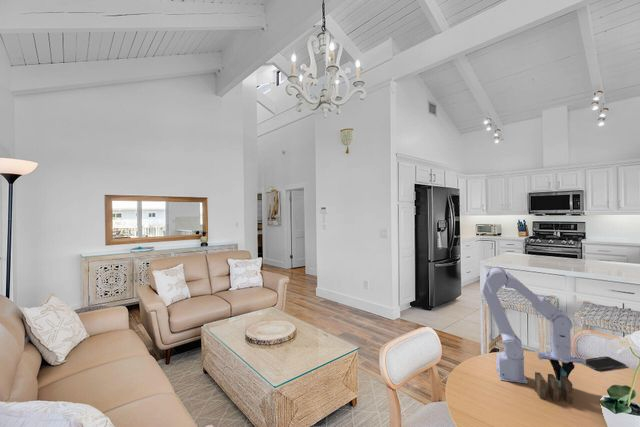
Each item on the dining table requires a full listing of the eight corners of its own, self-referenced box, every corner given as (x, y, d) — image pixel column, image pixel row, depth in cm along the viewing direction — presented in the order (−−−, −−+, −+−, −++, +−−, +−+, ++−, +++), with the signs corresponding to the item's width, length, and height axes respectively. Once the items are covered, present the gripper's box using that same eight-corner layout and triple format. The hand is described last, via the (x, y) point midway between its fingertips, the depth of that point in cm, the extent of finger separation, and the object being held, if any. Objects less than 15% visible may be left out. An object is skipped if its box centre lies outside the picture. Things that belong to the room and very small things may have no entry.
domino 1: (540, 398, 108) (539, 379, 108) (535, 390, 113) (534, 372, 113) (545, 399, 108) (545, 380, 107) (540, 391, 112) (540, 372, 112)
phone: (578, 360, 131) (607, 356, 133) (578, 362, 131) (607, 358, 133) (598, 369, 123) (627, 365, 126) (598, 372, 123) (628, 368, 126)
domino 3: (567, 402, 106) (566, 383, 105) (560, 394, 110) (560, 375, 110) (572, 403, 105) (572, 383, 105) (566, 394, 110) (565, 375, 110)
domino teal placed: (561, 390, 112) (561, 371, 112) (555, 382, 117) (555, 364, 116) (566, 391, 111) (566, 372, 111) (560, 383, 116) (560, 365, 116)
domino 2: (553, 400, 107) (553, 381, 107) (547, 392, 112) (547, 373, 111) (558, 401, 106) (558, 382, 106) (553, 392, 111) (552, 374, 111)
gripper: (542, 346, 112) (542, 382, 112) (590, 351, 107) (590, 389, 108) (535, 338, 119) (535, 372, 119) (580, 342, 114) (580, 378, 114)
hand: (561, 379), depth 114 cm, fingers closed on domino teal placed, 1 cm apart
